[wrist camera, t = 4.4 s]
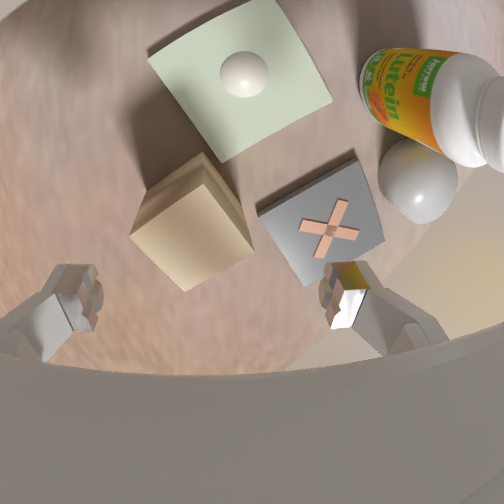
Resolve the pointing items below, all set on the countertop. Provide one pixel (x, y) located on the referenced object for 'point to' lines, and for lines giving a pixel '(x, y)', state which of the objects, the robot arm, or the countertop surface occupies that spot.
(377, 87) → the supplement bottle
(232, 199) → the block
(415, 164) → the light grey dome
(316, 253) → the pad
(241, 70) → the pad
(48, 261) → the countertop surface
